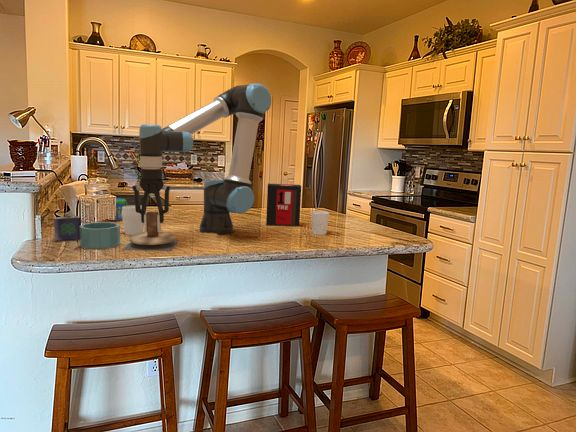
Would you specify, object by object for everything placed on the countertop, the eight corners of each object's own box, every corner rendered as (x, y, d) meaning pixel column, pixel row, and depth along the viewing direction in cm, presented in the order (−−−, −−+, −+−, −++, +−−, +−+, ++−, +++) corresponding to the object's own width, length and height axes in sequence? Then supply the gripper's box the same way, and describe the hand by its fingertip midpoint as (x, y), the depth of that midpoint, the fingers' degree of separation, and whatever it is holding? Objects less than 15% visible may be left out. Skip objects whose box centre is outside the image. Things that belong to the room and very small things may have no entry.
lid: (178, 234, 167) (177, 209, 165) (171, 244, 151) (171, 216, 150) (136, 234, 165) (135, 208, 163) (125, 244, 150) (123, 216, 148)
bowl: (123, 243, 163) (123, 222, 161) (113, 251, 150) (113, 229, 148) (88, 242, 161) (87, 221, 160) (75, 251, 148) (74, 228, 147)
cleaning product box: (266, 225, 211) (267, 185, 208) (266, 222, 220) (267, 183, 216) (299, 226, 212) (301, 186, 208) (298, 223, 220) (300, 184, 217)
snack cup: (121, 216, 216) (121, 197, 214) (135, 219, 210) (134, 199, 208) (93, 220, 203) (92, 199, 201) (106, 223, 197) (106, 202, 195)
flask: (54, 241, 160) (53, 213, 158) (54, 240, 162) (53, 212, 161) (81, 240, 165) (81, 212, 163) (81, 238, 167) (80, 211, 165)
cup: (137, 238, 171) (137, 209, 169) (117, 236, 172) (117, 207, 170) (149, 234, 179) (149, 206, 177) (130, 232, 181) (129, 204, 179)
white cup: (330, 233, 199) (331, 212, 197) (324, 236, 192) (325, 214, 190) (314, 231, 202) (315, 210, 200) (308, 234, 195) (309, 212, 193)
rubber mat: (178, 242, 168) (178, 239, 168) (171, 253, 151) (171, 250, 151) (133, 241, 166) (133, 239, 166) (122, 252, 149) (121, 249, 149)
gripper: (176, 168, 158) (177, 229, 162) (129, 166, 156) (131, 229, 160) (173, 169, 151) (174, 233, 155) (124, 168, 149) (126, 233, 153)
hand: (152, 231), depth 158 cm, fingers closed on lid, 4 cm apart
